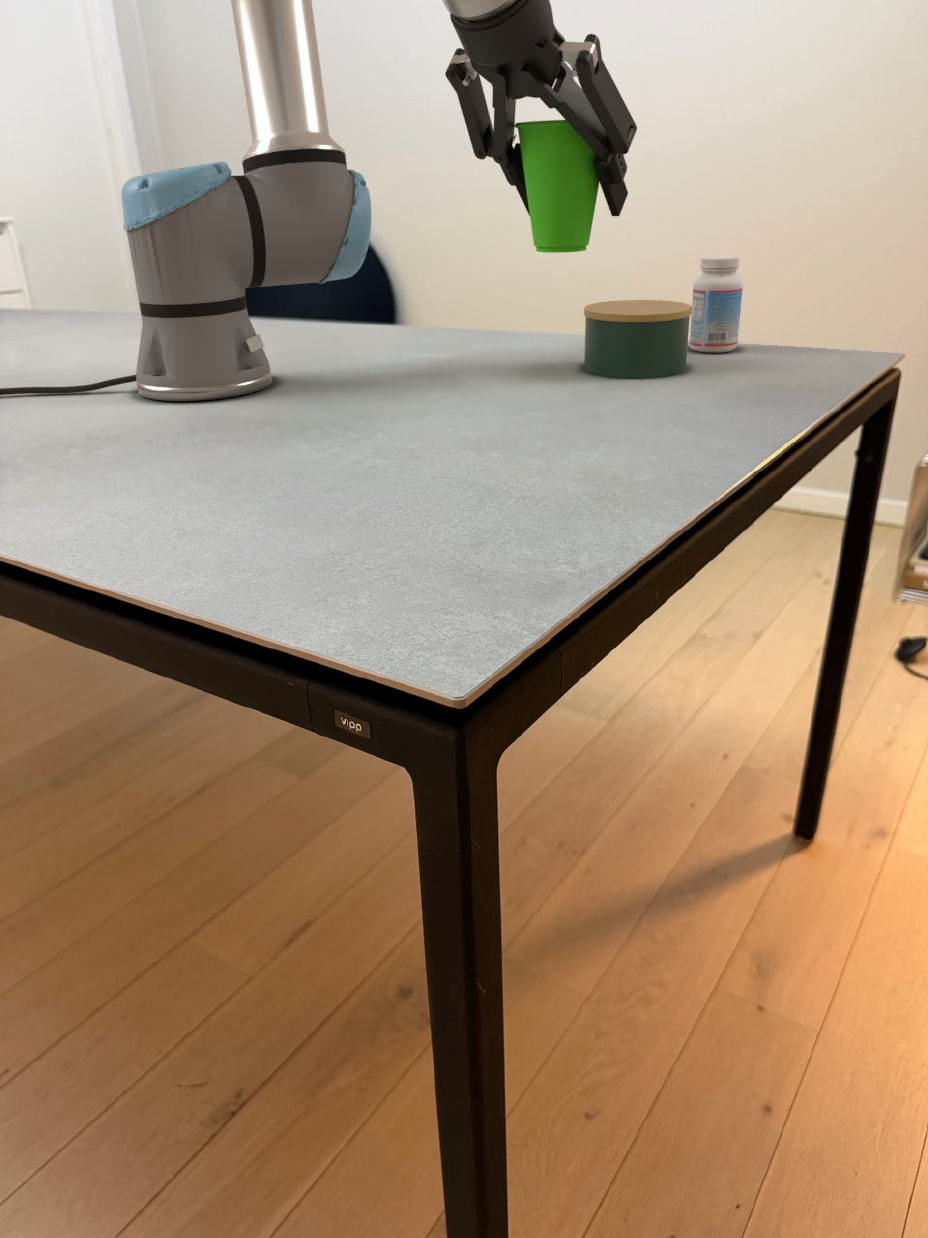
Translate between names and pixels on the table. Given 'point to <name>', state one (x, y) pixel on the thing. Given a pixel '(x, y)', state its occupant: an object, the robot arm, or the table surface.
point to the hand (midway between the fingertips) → (577, 204)
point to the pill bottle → (716, 305)
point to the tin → (636, 338)
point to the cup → (558, 185)
